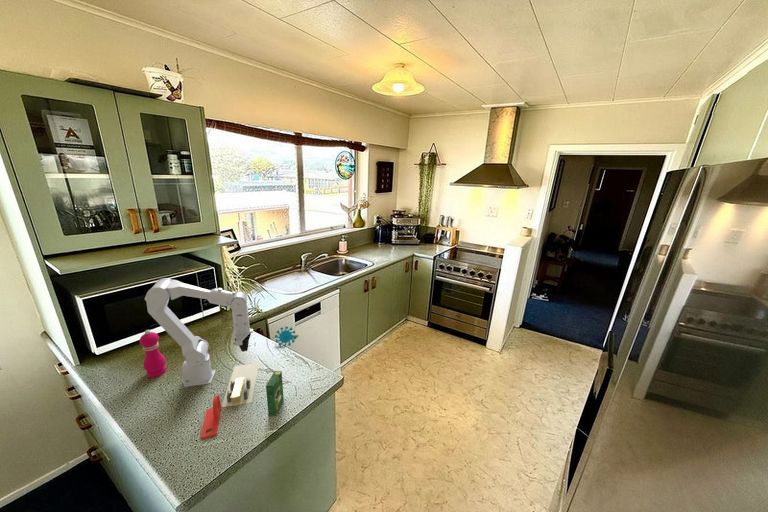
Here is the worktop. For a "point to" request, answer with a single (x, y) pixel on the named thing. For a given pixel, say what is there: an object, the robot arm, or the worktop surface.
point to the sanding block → (238, 390)
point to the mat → (246, 372)
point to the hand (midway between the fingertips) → (244, 350)
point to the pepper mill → (152, 354)
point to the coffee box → (274, 393)
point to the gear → (286, 336)
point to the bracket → (212, 419)
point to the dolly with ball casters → (248, 384)
